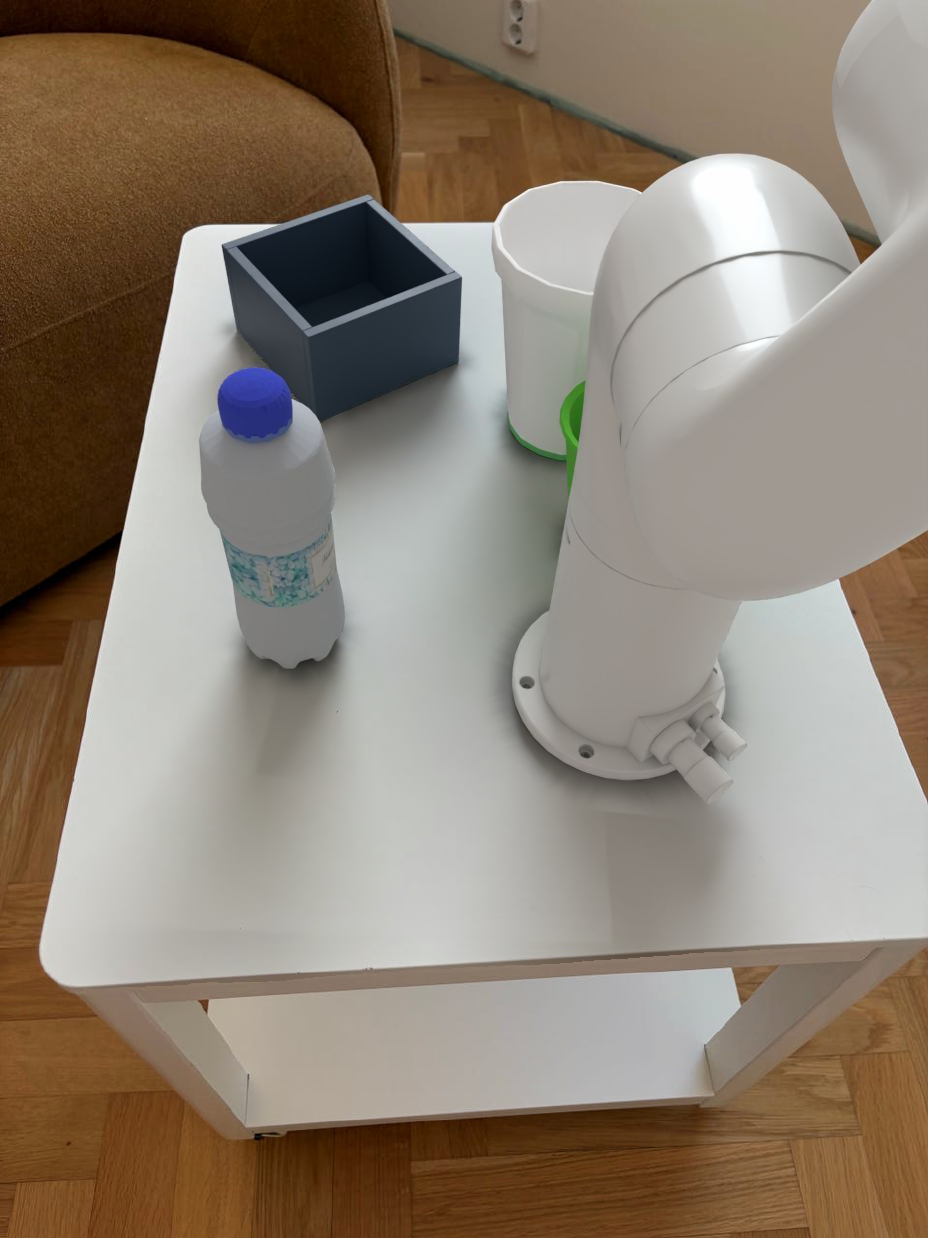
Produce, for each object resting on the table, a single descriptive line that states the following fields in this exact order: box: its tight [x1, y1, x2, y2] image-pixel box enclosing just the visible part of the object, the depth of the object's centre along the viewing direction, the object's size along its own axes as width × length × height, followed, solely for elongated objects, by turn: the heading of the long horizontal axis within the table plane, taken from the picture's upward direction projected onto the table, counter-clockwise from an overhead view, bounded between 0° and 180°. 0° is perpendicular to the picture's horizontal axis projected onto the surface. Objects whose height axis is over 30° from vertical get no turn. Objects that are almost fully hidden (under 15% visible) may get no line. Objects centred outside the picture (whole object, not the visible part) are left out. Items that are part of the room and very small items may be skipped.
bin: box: [221, 194, 463, 423], centre depth 75 cm, size 13×13×8 cm
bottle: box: [198, 366, 346, 670], centre depth 53 cm, size 7×7×20 cm
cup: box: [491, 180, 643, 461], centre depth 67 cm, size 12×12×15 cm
